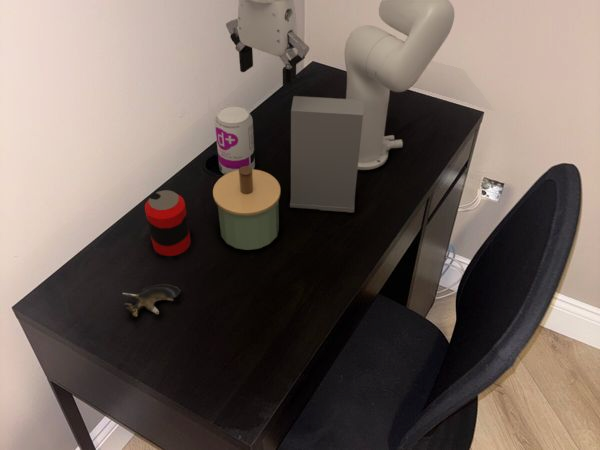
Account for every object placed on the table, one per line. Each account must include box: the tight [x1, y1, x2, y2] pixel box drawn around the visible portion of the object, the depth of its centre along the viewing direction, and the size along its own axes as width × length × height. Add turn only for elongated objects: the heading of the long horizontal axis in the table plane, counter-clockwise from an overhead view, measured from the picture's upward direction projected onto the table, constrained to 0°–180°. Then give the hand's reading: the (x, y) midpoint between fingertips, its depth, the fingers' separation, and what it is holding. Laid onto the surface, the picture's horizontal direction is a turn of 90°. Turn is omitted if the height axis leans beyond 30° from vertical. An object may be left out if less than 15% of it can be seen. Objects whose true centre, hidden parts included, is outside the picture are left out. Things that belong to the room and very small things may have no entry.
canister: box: [217, 200, 280, 251], centre depth 122 cm, size 12×12×10 cm
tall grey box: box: [289, 95, 363, 213], centre depth 124 cm, size 14×6×25 cm, turn 85°
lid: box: [212, 166, 282, 216], centre depth 117 cm, size 13×13×6 cm
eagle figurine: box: [122, 284, 182, 318], centre depth 109 cm, size 8×7×9 cm
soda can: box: [144, 189, 192, 257], centre depth 119 cm, size 8×8×12 cm
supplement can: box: [214, 104, 256, 175], centre depth 135 cm, size 8×8×15 cm
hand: (267, 76), depth 112 cm, fingers open, 9 cm apart
